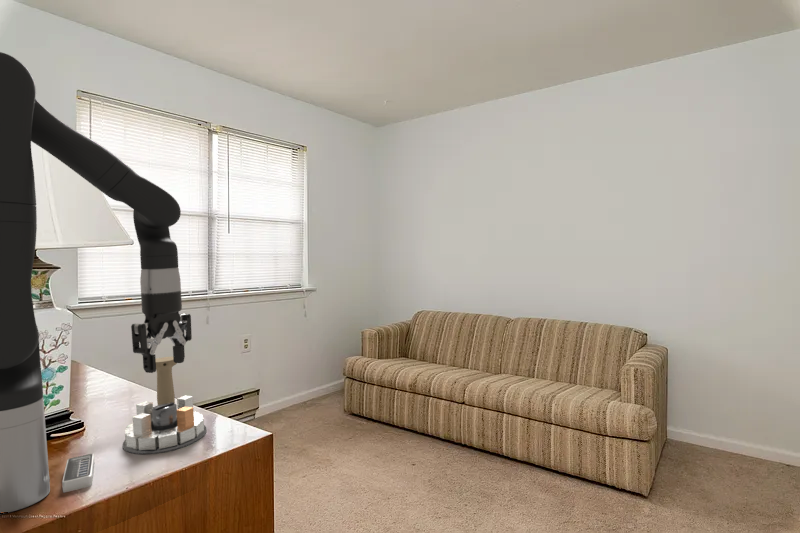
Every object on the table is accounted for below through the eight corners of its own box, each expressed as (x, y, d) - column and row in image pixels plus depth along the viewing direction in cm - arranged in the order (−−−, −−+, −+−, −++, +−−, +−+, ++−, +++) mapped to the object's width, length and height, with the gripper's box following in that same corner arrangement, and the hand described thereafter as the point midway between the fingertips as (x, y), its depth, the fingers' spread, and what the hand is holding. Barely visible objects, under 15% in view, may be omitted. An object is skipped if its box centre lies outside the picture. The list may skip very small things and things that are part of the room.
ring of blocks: (152, 460, 96) (150, 425, 95) (106, 444, 104) (104, 411, 104) (222, 430, 110) (220, 399, 110) (176, 418, 119) (175, 389, 118)
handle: (152, 417, 120) (148, 359, 119) (179, 412, 123) (176, 355, 122) (153, 423, 116) (149, 363, 115) (182, 418, 119) (178, 359, 118)
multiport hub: (62, 494, 84) (61, 482, 84) (68, 469, 94) (67, 458, 93) (92, 487, 86) (91, 475, 86) (94, 463, 96) (94, 452, 96)
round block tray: (153, 455, 96) (151, 424, 96) (110, 440, 104) (108, 412, 104) (218, 427, 110) (216, 400, 110) (176, 416, 118) (174, 391, 118)
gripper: (148, 294, 91) (152, 378, 92) (199, 286, 105) (203, 359, 106) (117, 293, 93) (122, 375, 94) (172, 286, 107) (176, 358, 108)
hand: (165, 367), depth 100 cm, fingers open, 7 cm apart
